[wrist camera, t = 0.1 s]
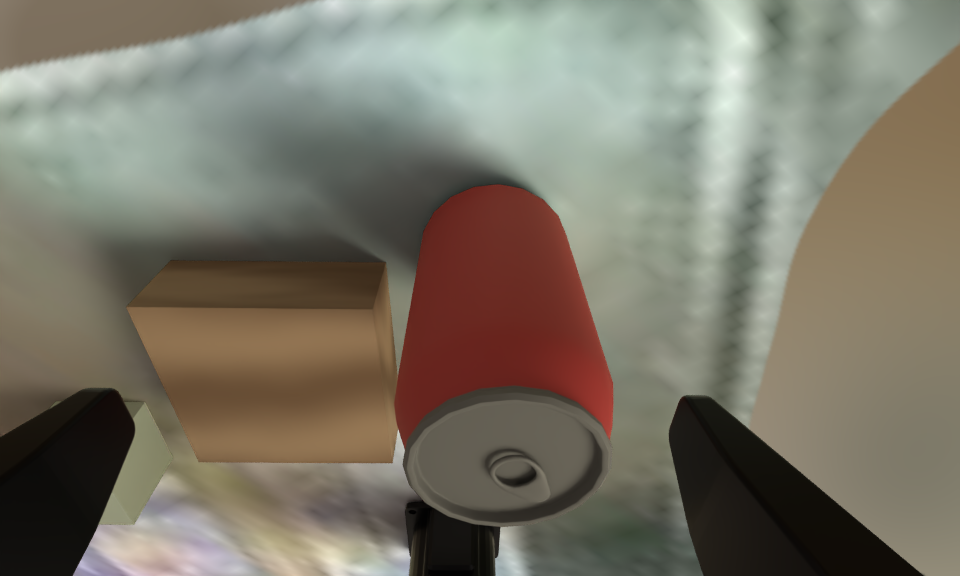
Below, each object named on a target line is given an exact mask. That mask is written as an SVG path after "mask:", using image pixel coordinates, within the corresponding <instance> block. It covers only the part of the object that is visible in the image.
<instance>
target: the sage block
mask: <svg viewBox="0 0 960 576" xmlns="http://www.w3.org/2000/svg"><path fill="white" fill-rule="evenodd" d="M60 402H62V401H56V402H55V403H54V404H53V405H52V406H51V407H50V408H52V407H53V406H55V405H57V404H58V403H60ZM124 403H125V405H126V407H127V409H128V410H129V412H130V414H131V416H132V418H133V420H134V422H135V436H134V439H133V442H132V444H131V447H130V449H129V452H128V454H127V457H126V459H125V462H124V464H123V466H122V469H121V471H120V474H119V476H118V479H117V481H116V484H115V486H114V489H113V491H112V494H111V496H110V498H109V501H108V503H107V506H106V508H105V511H104V513H103V516H102V518H101V520H100V522H99V524H107V525H134V524H135V522H136V520H137V519H138V517H139V515H140V514H141V512H142V510H143V508H144V507H145V505H146V503H147V502H148V500H149V498H150V496H151V495H152V493H153V491H154V490H155V488H156V486H157V484H158V483H159V481H160V479H161V478H162V476H163V474H164V473H165V471H166V469H167V467H168V466H169V464H170V462H171V461H172V459H173V457H172V455H171V453H170V451H169V449H168V447H167V445H166V443H165V441H164V439H163V437H162V435H161V433H160V431H159V429H158V427H157V425H156V423H155V421H154V419H153V417H152V415H151V413H150V411H149V409H148V407H147V405H146V403H145V402H124ZM50 408H49V409H50Z"/></svg>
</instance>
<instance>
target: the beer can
mask: <svg viewBox="0 0 960 576" xmlns="http://www.w3.org/2000/svg"><path fill="white" fill-rule="evenodd" d="M394 407H395V416H396V423H397V426H398V429H399V433H400V436H401V439H402V442H403V445H404V448H405V454H404V459H403V468H404V471H405V474H406V477H407V480H408V483H409V485H410V486H411V488H412V489H413V490H414V491H415V492H416V493H417V494H418V495H419V496H420V498H421V499H422V500H423V501H424V502H425V503H427V504H428V505H430V506H431V507H433V508H435V509H437V510H438V511H440V512H442V513H443V514H445V515H447V516H449V517H452V518H455V519H459V520H462V521H465V522H468V523H472V524H478V525H487V526H497V527H508V526H521V525H531V524H535V523H539V522H542V521H546V520H550V519H554V518H557V517H559V516H561V515H563V514H565V513H567V512H569V511H571V510H573V509H575V508H577V507H579V506H581V505H582V504H583V503H584V502H585V501H586V500H588V499H589V498H590V497H591V496H592V495H593V494H594V493H596V492H597V491H598V490H599V489H600V488H601V486H602V485H603V483H604V481H605V479H606V477H607V475H608V474H609V472H610V470H611V466H612V445H611V442H610V435H611V430H612V421H613V382H612V379H611V375H610V372H609V369H608V366H607V363H606V360H605V356H604V353H603V350H602V347H601V344H600V341H599V337H598V334H597V331H596V328H595V325H594V322H593V318H592V315H591V312H590V309H589V306H588V303H587V299H586V296H585V293H584V290H583V287H582V283H581V280H580V277H579V274H578V271H577V268H576V264H575V261H574V258H573V255H572V252H571V249H570V245H569V242H568V239H567V236H566V233H565V231H564V228H563V226H562V224H561V221H560V219H559V216H558V215H557V214H556V213H555V212H554V211H553V210H552V209H551V208H550V206H549V205H548V204H547V203H546V202H545V201H544V200H543V199H541V198H539V197H537V196H535V195H533V194H532V193H530V192H528V191H526V190H524V189H522V188H516V187H511V186H505V185H500V184H496V185H487V186H478V187H473V188H470V189H468V190H466V191H463V192H461V193H459V194H457V195H454V196H452V197H451V198H449V199H448V200H447V201H446V202H445V203H444V204H443V205H442V206H440V207H439V208H438V209H437V210H436V211H435V212H434V213H433V215H432V217H431V219H430V220H429V222H428V224H427V226H426V227H425V229H424V231H423V237H422V243H421V248H420V254H419V260H418V266H417V271H416V277H415V283H414V288H413V294H412V300H411V305H410V311H409V317H408V323H407V328H406V334H405V340H404V345H403V351H402V357H401V363H400V368H399V374H398V380H397V387H396V393H395V400H394Z"/></svg>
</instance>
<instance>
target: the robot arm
mask: <svg viewBox="0 0 960 576" xmlns="http://www.w3.org/2000/svg"><path fill="white" fill-rule="evenodd" d="M134 436H135V422H134V420H133V418H132V416H131V414H130V412H129V410H128V409H127V407H126V405H125V403H124V401H123V399H122V397H121V395H120V394H119V392H118V391H116V390H115V389H112V388H87V389H83V390H81V391H79V392H77V393H76V394H74V395H72V396H70V397H69V398H67V399H65V400H64V401H62V402H60V403H58V404H57V405H55V406H53V407H52V408H50V409H48V410H46V411H45V412H43V413H41V414H40V415H38V416H36V417H34V418H33V419H31V420H29V421H27V422H26V423H24V424H22V425H21V426H19V427H17V428H15V429H14V430H12V431H10V432H9V433H7V434H5V435H3V436H2V437H0V576H73V574H74V572H75V570H76V568H77V566H78V564H79V563H80V561H81V559H82V557H83V555H84V553H85V551H86V549H87V547H88V545H89V543H90V541H91V539H92V537H93V535H94V533H95V531H96V529H97V527H98V525H99V522H100V520H101V518H102V516H103V513H104V511H105V508H106V506H107V503H108V501H109V498H110V496H111V494H112V491H113V489H114V486H115V484H116V481H117V479H118V476H119V474H120V471H121V469H122V466H123V464H124V462H125V459H126V457H127V454H128V452H129V449H130V447H131V444H132V442H133V439H134ZM669 443H670V448H671V453H672V457H673V462H674V466H675V471H676V475H677V480H678V484H679V489H680V493H681V498H682V502H683V507H684V511H685V516H686V520H687V524H688V528H689V532H690V536H691V539H692V542H693V545H694V549H695V552H696V555H697V558H698V561H699V564H700V567H701V570H702V572H703V575H704V576H924V575H922V574H921V573H920V572H919V571H918V570H916V569H915V568H914V567H913V566H911V565H910V564H909V563H908V562H907V561H906V560H904V559H903V558H902V557H901V556H900V555H898V554H897V553H896V552H895V551H894V550H893V549H891V548H890V547H889V546H888V545H886V544H885V543H884V542H883V541H882V540H881V539H879V538H878V537H877V536H876V535H875V534H873V533H872V532H871V531H870V530H869V529H867V528H866V527H865V526H864V525H863V524H861V523H860V522H859V521H858V520H857V519H855V518H854V517H853V516H852V515H851V514H850V513H848V512H847V511H846V510H845V509H843V508H842V507H841V506H840V505H839V504H838V503H836V502H835V501H834V500H833V499H831V498H830V497H829V496H828V495H827V494H826V493H825V492H823V491H822V490H821V489H820V488H819V487H817V486H816V485H815V484H814V483H813V482H811V481H810V480H809V479H808V478H806V477H805V476H804V475H803V474H802V473H801V472H800V471H798V470H797V469H796V468H795V467H793V466H792V465H791V464H790V463H789V462H788V461H786V460H785V459H784V458H783V457H782V456H780V455H779V454H778V453H777V452H776V451H774V450H773V449H772V448H771V447H770V446H768V445H767V444H766V443H765V442H764V441H763V440H761V439H760V438H759V437H758V436H757V435H755V434H754V433H753V432H752V431H751V430H749V429H748V428H747V427H746V426H745V425H743V424H742V423H741V422H740V421H739V420H738V419H736V418H735V417H734V416H733V415H732V414H730V413H729V412H728V411H727V410H726V409H724V408H723V407H722V406H721V405H720V404H718V403H717V402H716V401H715V400H714V399H712V398H711V397H709V396H705V395H686V396H683V397H682V398H681V399H680V401H679V403H678V406H677V409H676V412H675V414H674V417H673V420H672V423H671V426H670V429H669ZM405 516H406V525H407V534H408V543H409V553H410V557H411V560H410V569H409V576H495V558H497V557H498V551H499V538H500V527H497V526H487V525H478V524H472V523H468V522H465V521H462V520H459V519H455V518H452V517H449V516H447V515H445V514H443V513H442V512H440V511H438V510H437V509H435V508H433V507H431V506H430V505H428V504H427V503H425V502H411V503H408V504H407V505H406V509H405Z"/></svg>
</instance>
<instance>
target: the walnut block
mask: <svg viewBox="0 0 960 576" xmlns="http://www.w3.org/2000/svg"><path fill="white" fill-rule="evenodd" d="M126 308H127V310H128V312H129V314H130V316H131V319H132V321H133V323H134V325H135V327H136V329H137V331H138V333H139V336H140V338H141V340H142V342H143V344H144V346H145V348H146V350H147V353H148V355H149V357H150V359H151V361H152V363H153V365H154V367H155V370H156V372H157V374H158V376H159V378H160V380H161V382H162V385H163V387H164V389H165V391H166V393H167V395H168V397H169V399H170V402H171V404H172V406H173V408H174V410H175V412H176V414H177V416H178V419H179V421H180V423H181V425H182V427H183V429H184V431H185V433H186V436H187V438H188V440H189V442H190V444H191V446H192V448H193V450H194V453H195V455H196V457H197V459H198V461H199V462H268V463H393V456H394V450H395V444H396V438H397V431H398V426H397V423H396V416H395V407H394V400H395V393H396V387H397V380H398V375H397V366H396V356H395V346H394V337H393V327H392V317H391V307H390V298H389V288H388V278H387V269H386V262H286V261H178V260H171V261H170V262H169V263H168V264H167V265H166V266H165V267H164V268H163V269H162V270H161V271H160V272H159V273H158V274H157V275H156V276H155V277H154V278H153V279H152V281H151V282H150V283H149V284H148V285H147V286H146V287H145V288H144V289H143V290H142V291H141V292H140V293H139V294H138V295H137V296H136V297H135V298H134V299H133V300H132V301H131V302H130V304H129V305H128V306H127V307H126Z"/></svg>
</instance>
